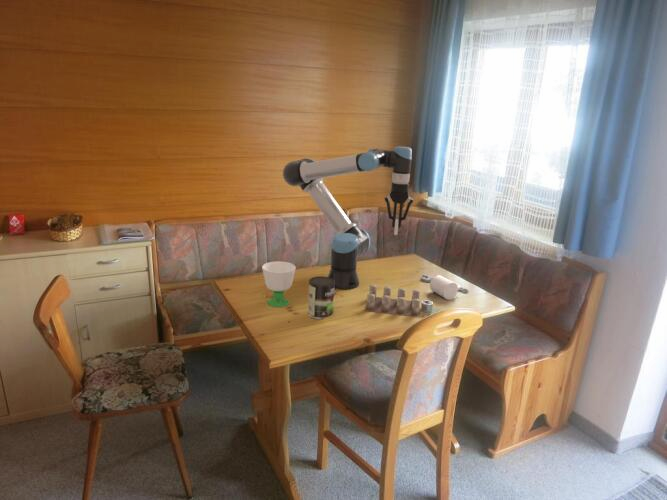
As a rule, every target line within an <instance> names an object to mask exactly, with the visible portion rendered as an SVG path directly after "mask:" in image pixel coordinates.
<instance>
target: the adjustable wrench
mask: <svg viewBox="0 0 667 500" xmlns="http://www.w3.org/2000/svg"><path fill="white" fill-rule="evenodd" d="M433 278H434V276H432V275H429V274H422V276H420V281H422V282H426V283H430V282H431V280H432V279H433ZM458 291H459V292H461V293H464V294H468V293H469V289H467V288H464V287H461V286H460V289H459V290H458Z"/></svg>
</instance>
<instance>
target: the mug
mask: <svg viewBox="0 0 667 500" xmlns="http://www.w3.org/2000/svg"><path fill="white" fill-rule="evenodd" d="M460 287H461V285H460V284H459V283H456V282H454V281H451V280H450V279H448V278H446V277H444V276H442V275H440V274H439V275H435V276H433V279H432V280H431V282H429V289H430V291H431V292H433V293H435V294H436V295H438V296H440V297H441V298H444V300H453V299H454V298H455V297H456V296H457V294H458V290H459V289H460Z"/></svg>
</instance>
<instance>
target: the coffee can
mask: <svg viewBox="0 0 667 500" xmlns="http://www.w3.org/2000/svg"><path fill="white" fill-rule="evenodd" d="M335 291H336V290H335V280H334V279H332V278H329V277H328V276H313V277H310V278H309V280H308V299H307V300H308V301H307V303H308V306H307V315H308V316H309V317H310V318H312V319H316V320H324V318H328V317H330V316H332V315H334V311H335V310H334V308H335V305H334V304H335Z"/></svg>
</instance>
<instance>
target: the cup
mask: <svg viewBox="0 0 667 500" xmlns="http://www.w3.org/2000/svg"><path fill="white" fill-rule="evenodd" d="M261 267H262V274H263V278H264V283H265V287H266V288H267V289H268V290H270V291H272V292H273V293H272V297H273V298H271V299H270V298H269V299H268V301H267V304H268V305H269V306H270V307H272V308H284V307H286V306H288V305H289V304H290V301H289V300H288V299H287V298H284V297H285V293H284V292H285V291H288V290H289V289H290V288H291V286H292V285H293V281H294V279H295V278H294V277H295V272H296V269H297V267H296V265H295V264H294V263H292V262H287V261H278V260H277V261H269V262H266V263H264V264H263V265H261Z"/></svg>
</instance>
